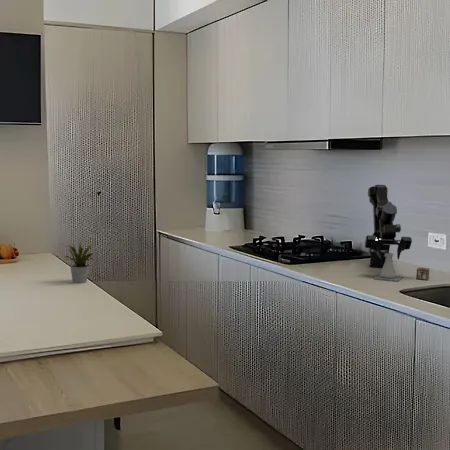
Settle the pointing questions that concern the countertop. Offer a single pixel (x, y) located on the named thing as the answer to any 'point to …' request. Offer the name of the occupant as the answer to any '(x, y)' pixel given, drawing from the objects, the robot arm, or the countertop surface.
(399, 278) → the grey coaster
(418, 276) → the letter cube
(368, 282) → the countertop surface
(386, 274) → the flask
